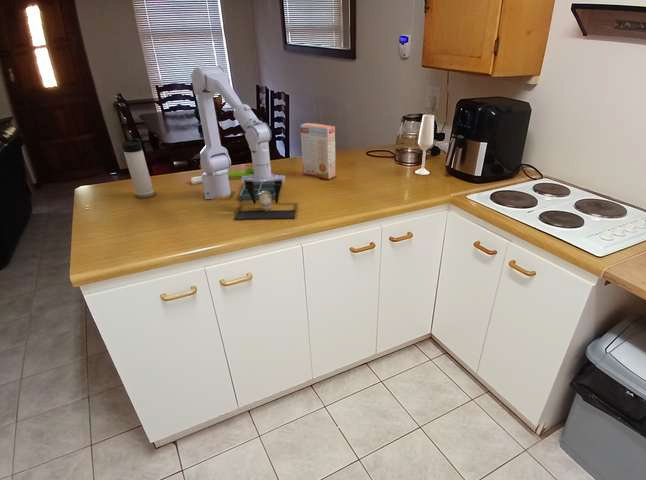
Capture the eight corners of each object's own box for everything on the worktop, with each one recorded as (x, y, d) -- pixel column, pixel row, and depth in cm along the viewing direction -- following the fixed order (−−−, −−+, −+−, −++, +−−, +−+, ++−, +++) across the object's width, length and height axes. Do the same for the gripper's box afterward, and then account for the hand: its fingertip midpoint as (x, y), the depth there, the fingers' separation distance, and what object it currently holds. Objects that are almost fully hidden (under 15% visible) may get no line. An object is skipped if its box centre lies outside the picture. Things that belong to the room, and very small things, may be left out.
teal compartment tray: (240, 202, 151) (239, 195, 149) (247, 185, 167) (246, 178, 166) (276, 202, 152) (275, 194, 150) (279, 185, 168) (279, 178, 166)
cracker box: (336, 176, 178) (335, 125, 167) (328, 180, 174) (327, 128, 162) (310, 171, 184) (308, 121, 173) (302, 174, 180) (299, 124, 168)
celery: (194, 184, 172) (265, 175, 176) (193, 192, 167) (266, 182, 171) (190, 171, 168) (262, 161, 172) (189, 178, 163) (263, 168, 167)
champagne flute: (413, 173, 183) (418, 116, 170) (417, 169, 189) (422, 113, 175) (427, 175, 181) (434, 117, 168) (431, 171, 187) (438, 114, 173)
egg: (259, 212, 142) (257, 193, 138) (261, 208, 146) (259, 188, 142) (272, 212, 142) (270, 193, 138) (273, 207, 146) (271, 188, 142)
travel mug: (158, 193, 158) (144, 139, 147) (145, 199, 153) (129, 143, 142) (146, 191, 160) (132, 137, 149) (133, 196, 155) (116, 141, 144)
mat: (235, 219, 138) (234, 218, 137) (241, 204, 149) (241, 203, 149) (294, 218, 139) (294, 217, 139) (295, 203, 151) (295, 202, 150)
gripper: (237, 166, 131) (243, 207, 138) (282, 166, 132) (286, 206, 139) (240, 160, 137) (246, 199, 144) (284, 160, 138) (287, 199, 145)
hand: (265, 202), depth 142 cm, fingers open, 7 cm apart
